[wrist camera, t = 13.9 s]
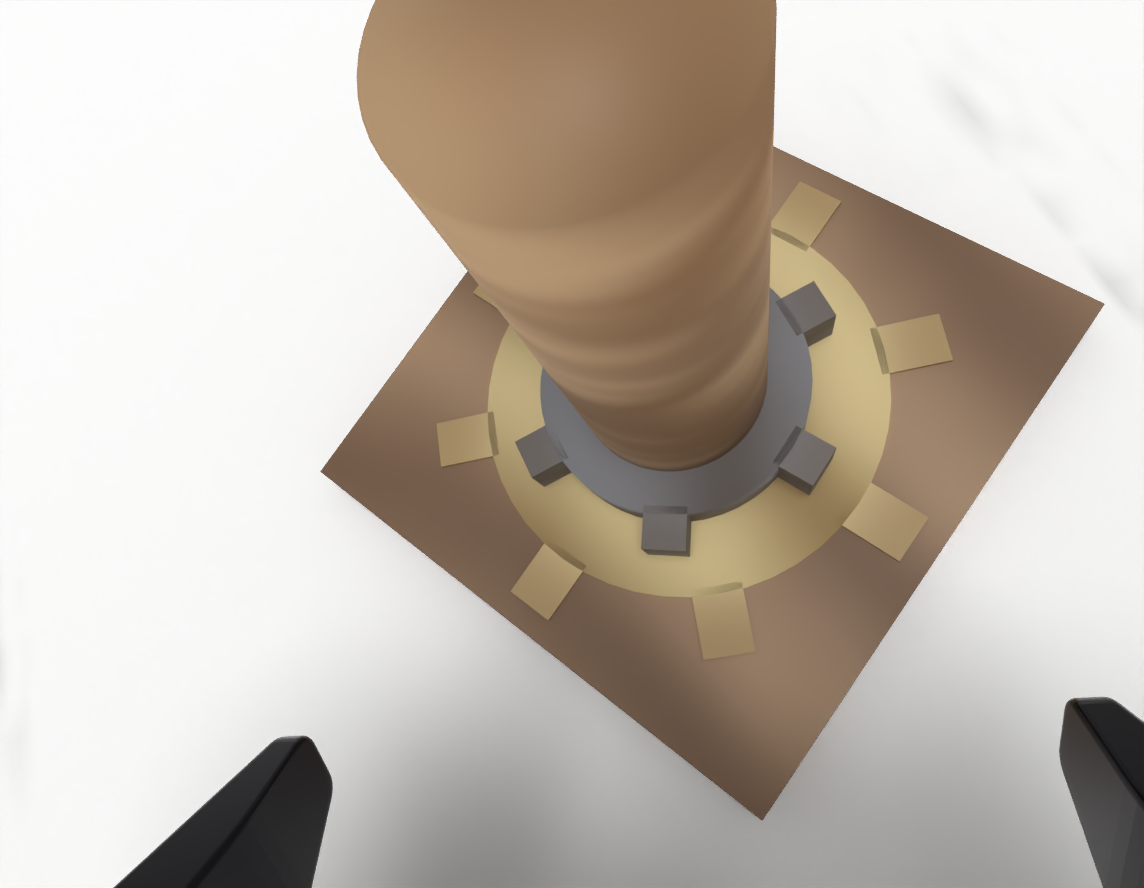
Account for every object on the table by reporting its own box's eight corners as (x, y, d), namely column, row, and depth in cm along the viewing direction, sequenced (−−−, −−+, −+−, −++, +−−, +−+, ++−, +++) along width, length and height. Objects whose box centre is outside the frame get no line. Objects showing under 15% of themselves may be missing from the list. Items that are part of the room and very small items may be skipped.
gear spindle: (599, 603, 19) (340, 533, 7) (479, 351, 22) (138, -9, 10) (905, 447, 18) (1160, 92, 7) (746, 203, 21) (729, -378, 9)
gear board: (762, 811, 18) (762, 821, 17) (338, 479, 23) (318, 470, 22) (1088, 320, 19) (1106, 301, 18) (620, 94, 24) (614, 68, 23)
